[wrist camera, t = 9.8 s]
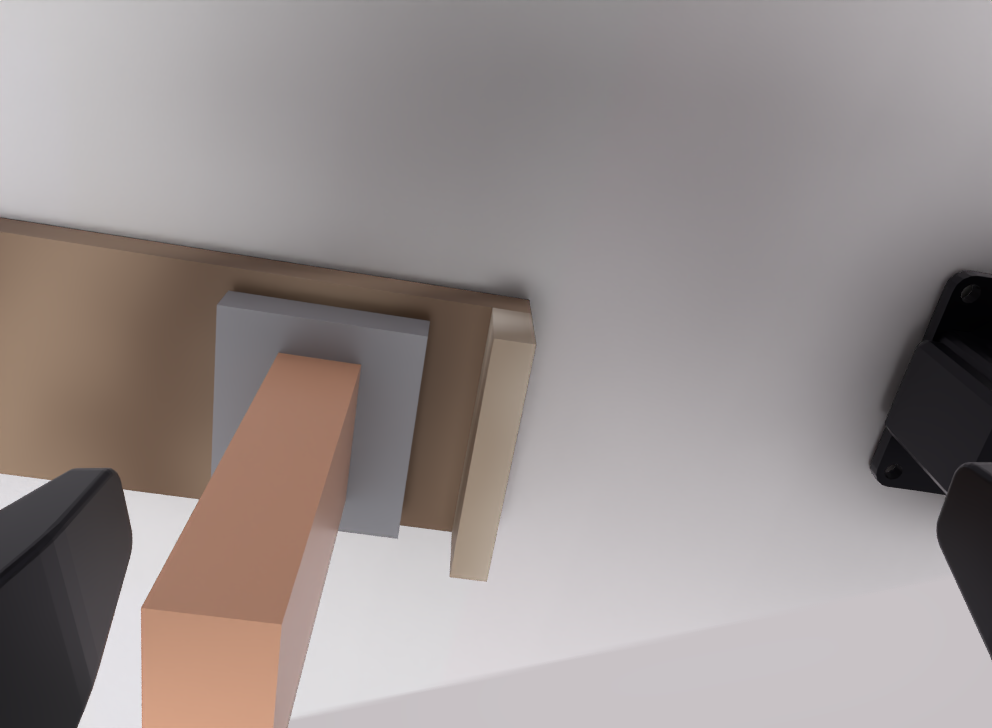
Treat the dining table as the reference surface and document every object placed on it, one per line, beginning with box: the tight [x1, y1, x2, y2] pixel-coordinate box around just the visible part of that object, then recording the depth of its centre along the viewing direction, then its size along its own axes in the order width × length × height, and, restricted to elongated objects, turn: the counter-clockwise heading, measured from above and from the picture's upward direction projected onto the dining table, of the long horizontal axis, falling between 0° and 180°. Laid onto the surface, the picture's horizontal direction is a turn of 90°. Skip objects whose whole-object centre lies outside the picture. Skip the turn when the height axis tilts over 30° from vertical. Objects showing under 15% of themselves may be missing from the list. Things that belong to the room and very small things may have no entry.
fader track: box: [0, 218, 536, 582], centre depth 21 cm, size 17×7×3 cm, turn 80°
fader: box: [141, 291, 430, 728], centre depth 17 cm, size 5×6×10 cm
